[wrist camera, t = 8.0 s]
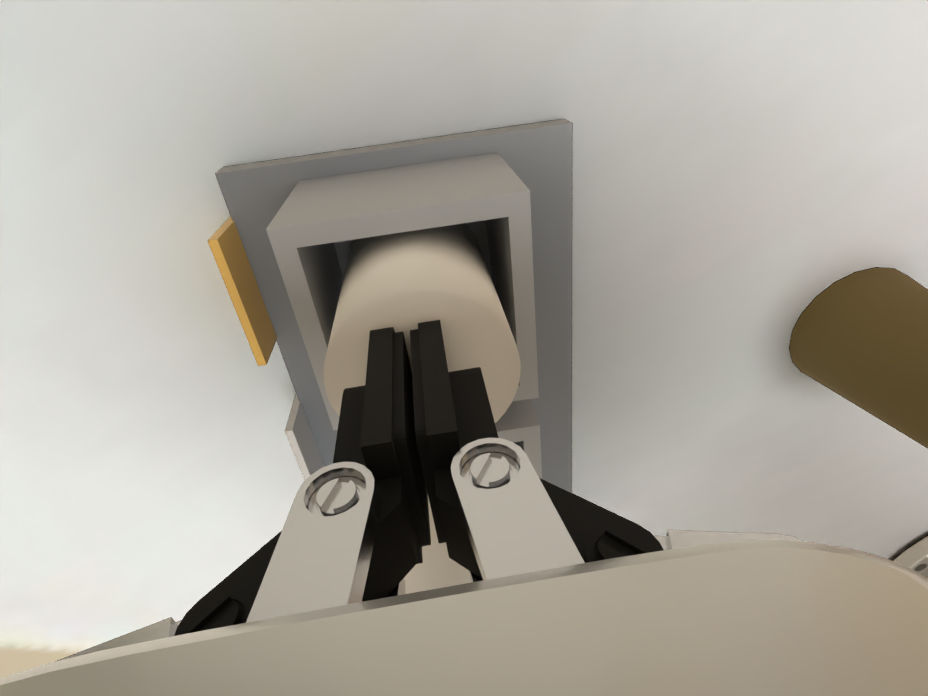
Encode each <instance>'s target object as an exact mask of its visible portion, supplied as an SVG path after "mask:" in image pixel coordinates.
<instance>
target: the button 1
mask: <svg viewBox="0 0 928 696" xmlns="http://www.w3.org/2000/svg"><path fill="white" fill-rule="evenodd" d="M434 320H440V322H441V329H442V335H443V341H444V348H445V354H446V360H447V366H448V372H451V371H458V370H464V369H470V368H476V367H480V368H481V371H482V375H483V379H484V383H485V387H486V391H487V395H488V398H489V402H490V406H491V410H492V414H493V418H494V422H495V423H496V422H497V421H498V420H499V419H500V418H501V417H502V416H503V414H504V413H505V412H506V410H507V409H508V408H509V406H510V405H511V403H512V401H513V399H514V397H515V395H516V392H517V388H518V385H519V380H520V371H521V363H520V357H519V352H518V349H517V345H516V342H515V340H514V337H513V335H512V332H511V329H510V327H509V324H508V321H507V319H506V316H505V313H504V311H503V308H502V305H501V303H500V300H499V298H498V295H497V292H496V290H495V287H494V284H493V282H492V279H491V276H490V274H489V271H488V268H487V266H486V263H485V261H484V258H483V255H482V253H481V250H480V247H479V245H478V242H477V240H476V238H475V236H474V234H473V233H472V231H471V230H470V228H469V227H468V226H467V224H466V223H462V224H456V225H449V226H442V227H435V228H429V229H422V230H415V231H408V232H401V233H395V234H388V235H381V236H374V237H367V238H361V239H354V240H353V242H352V245H351V249H350V253H349V257H348V261H347V266H346V270H345V274H344V279H343V283H342V287H341V292H340V296H339V301H338V305H337V309H336V314H335V318H334V322H333V327H332V331H331V336H330V340H329V344H328V349H327V353H326V357H325V362H324V372H323V375H324V385H325V390H326V394H327V396H328V399H329V401H330V404H331V406H332V407H333V409H334V410H335V412H336V414H337V415H338V416H340V409H341V402H342V395H343V391H344V389H345V388H352V387H358V386H364V385H365V383H366V370H367V358H368V346H369V334H370V331H371V330H376V329H383V328H389V327H393V328H394V331H395V333H396V332H402V331H403V334H404V338H405V343H406V347H407V352H408V357H409V362H410V367H411V371H412V364H411V344H410V330H415V329H418V323H421V322H428V321H434Z"/></svg>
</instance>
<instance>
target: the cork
mask: <svg viewBox="0 0 928 696" xmlns="http://www.w3.org/2000/svg"><path fill="white" fill-rule="evenodd" d="M789 350H790V354H791V358H792V362H793V363H794V364H795V365H796V367H797V368H798V369H799V370H800V371H801V372H803V373H804V374H806V375H807V376H809V377H811V378H812V379H814V380H816V381H817V382H819V383H821V384H822V385H824V386H826V387H827V388H829V389H831V390H832V391H834V392H836V393H837V394H839V395H841V396H842V397H844V398H845V399H847V400H849V401H850V402H852V403H854V404H855V405H857V406H859V407H860V408H862V409H864V410H865V411H867V412H869V413H870V414H872V415H874V416H875V417H877V418H879V419H880V420H882V421H883V422H885V423H887V424H888V425H890V426H892V427H893V428H895V429H897V430H898V431H900V432H902V433H903V434H905V435H907V436H908V437H910V438H912V439H913V440H915V441H916V442H918V443H920V444H921V445H923V446H925V447H926V448H928V289H926V288H925V287H923V286H922V285H921V284H919V283H918V282H916V281H915V280H913V279H912V278H910V277H909V276H907V275H905V274H904V273H902V272H900V271H898V270H896V269H892V268H878V267H876V268H872V269H867V270H863V271H859V272H855V273H853V274H851V275H849V276H847V277H845V278H843V279H841V280H839V281H837V282H835V283H833V284H832V285H831V286H830V287H828V288H827V289H826V290H824V291H823V292H822V293H821V294H819V295H818V296H817V297H815V299H814V300H813V301H812V302H811V303H810V305H809V306H808V307H807V308H806V309H805V310H804V312H803V313H802V314H801V315H800V317H799V319H798V321H797V323H796V325H795V327H794V329H793V331H792V335H791V340H790V346H789Z"/></svg>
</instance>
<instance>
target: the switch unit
mask: <svg viewBox="0 0 928 696" xmlns="http://www.w3.org/2000/svg"><path fill="white" fill-rule="evenodd" d="M572 130H573V123H572V122H570V121H568V120H566V119H559V120H552V121H545V122H538V123H531V124H524V125H517V126H510V127H502V128H495V129H488V130H481V131H474V132H467V133H460V134H453V135H446V136H439V137H432V138H425V139H418V140H411V141H403V142H396V143H389V144H382V145H375V146H368V147H361V148H354V149H347V150H340V151H333V152H326V153H319V154H312V155H304V156H297V157H290V158H283V159H276V160H269V161H262V162H255V163H248V164H241V165H234V166H227V167H223V168H222V169H220V170H219V171H218V172H216V173H215V175H216V178H217V180H218V183H219V186H220V188H221V191H222V194H223V197H224V199H225V202H226V205H227V207H228V210H229V213H230V215H231V216H230V217H229V218H228V219H227V221H226V222H225V223H224V224H223V225H222V226H221V227H220V228H219V229H218V230H217V231H216V232H215V233H214V235H213V236H212V237H211V238H210V239H209V240H208V243H209V246H210V248H211V250H212V253H213V255H214V258H215V260H216V263H217V265H218V268H219V270H220V273H221V275H222V278H223V280H224V283H225V285H226V288H227V290H228V292H229V295H230V297H231V300H232V302H233V305H234V307H235V310H236V312H237V315H238V317H239V320H240V322H241V325H242V327H243V329H244V332H245V334H246V337H247V339H248V342H249V344H250V347H251V349H252V352H253V354H254V357H255V359H256V362H257V364H258V366H261V365H267V362H268V360H269V357H270V355H271V352H272V350H273V347H274V345H275V342H276V340H277V343H278V345H279V348H280V351H281V354H282V356H283V359H284V362H285V364H286V367H287V370H288V373H289V375H290V378H291V381H292V383H293V386H294V389H295V392H296V394H295V398H294V401H293V405H292V408H291V412H290V415H289V419H288V422H287V426H286V429H285V433H286V436H287V438H288V440H289V443H290V445H291V448H292V450H293V453H294V455H295V458H296V460H297V463H298V465H299V468H300V470H301V473H302V475H303V477H304V480H306V479H307V478H308V477H309V476H310V475H311V474H313V473H315V472H316V471H318V470H319V469H321V468H323V467H325V466H328V465H330V464H333V458H334V451H335V444H336V437H337V430H338V423H339V416H338V415H337V414H336V412H335V410H334V409H333V407H332V406H331V404H330V401H329V399H328V396H327V394H326V390H325V385H324V375H323V372H324V362H325V357H326V353H327V349H328V344H329V340H330V336H331V331H332V327H333V322H334V318H335V314H336V309H337V305H338V301H339V296H340V292H341V287H342V283H343V279H344V274H345V270H346V266H347V261H348V257H349V253H350V249H351V245H352V242H353V240H354V239H361V238H367V237H374V236H381V235H388V234H395V233H401V232H408V231H415V230H422V229H429V228H435V227H442V226H449V225H456V224H462V223H466V224H467V226H468V227H469V228H470V230H471V231H472V233H473V234H474V236H475V238H476V240H477V242H478V245H479V247H480V250H481V253H482V255H483V258H484V261H485V263H486V266H487V268H488V271H489V274H490V276H491V279H492V282H493V284H494V287H495V290H496V292H497V295H498V298H499V300H500V303H501V305H502V308H503V311H504V313H505V316H506V319H507V321H508V324H509V327H510V329H511V332H512V335H513V337H514V340H515V342H516V345H517V349H518V352H519V357H520V363H521V371H520V380H519V385H518V388H517V392H516V395H515V397H514V399H513V401H512V403H511V405H510V406H509V408H508V409H507V410H506V412H505V413H504V414H503V416H502V417H501V418H500V419H499V420H498V421H497V422H496V423H495V426H496V430H497V434H498V437H499V438H502V439H505V440H509V441H512V442H513V443H515V444H517V445H518V446H520V447H521V448H522V450H523V451H524V452H525V453H526V455H527V456H528V458H529V460H530V462H531V464H532V466H533V468H534V469H535V471H536V473H537V475H538V477H539V478H541V479H543V480H545V481H547V482H549V483H551V484H553V485H556V486H558V487H560V488H562V489H564V490H566V491H568V492H570V493H572Z"/></svg>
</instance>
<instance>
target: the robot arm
mask: <svg viewBox="0 0 928 696" xmlns="http://www.w3.org/2000/svg"><path fill="white" fill-rule="evenodd" d="M410 344H411V364H412V371H411V367H410V362H409V357H408V352H407V347H406V343H405V338H404V334H403V331H402V332H396V333H395V331H394V328H393V327H389V328H383V329H376V330H371V331H370V334H369V346H368V358H367V370H366V383H365V385H364V386H358V387H352V388H345V389H344V391H343V395H342V402H341V409H340V416H339V423H338V430H337V437H336V444H335V451H334V458H333V464H330V465H328V466H325V467H323V468H321V469H319V470H318V471H316V472H315V473H313V474H311V475H310V476H309V477H308V478H307V479H306V480H305V481H304V482H303V483H302V485H301V487H300V489H299V490H298V492H297V494H296V497H295V499H294V502H293V504H292V507H291V509H290V512H289V514H288V517H287V520H286V522H285V525H284V527H283V530H282V531H281V532H280V533H279V534H277V535H276V536H275V537H274V538H273V539H271V540H270V541H269V542H268V543H267V544H265V545H264V546H263V547H262V548H261V549H260V550H258V551H257V552H256V553H255V554H254V555H252V556H251V557H250V558H249V559H248V560H247V561H245V562H244V563H243V564H242V565H241V566H239V567H238V568H237V569H236V570H235V571H234V572H232V573H231V574H230V575H229V576H228V577H226V578H225V579H224V580H223V581H222V582H221V583H219V584H218V585H217V586H216V587H215V588H213V589H212V590H211V591H210V592H209V593H208V594H206V595H205V596H204V597H203V598H202V599H200V600H199V601H198V602H197V603H196V604H195V605H194V606H193V607H192V608H191V609H190V610H189V611H188V612H187V613H186V615H185V616H184V618H183V619H182V620H181V621H178V622H175V621H174V620H173V619H172V617H170V618H167V619H165V620H162V621H160V622H157V623H154V624H152V625H149V626H146V627H144V628H141V629H139V630H136V631H133V632H131V633H128V634H126V635H123V636H120V637H118V638H115V639H112V640H110V641H107V642H105V643H102V644H99V645H97V646H94V647H91V648H89V649H86V650H84V651H81V652H78V653H76V654H73V655H70V656H68V657H65V658H63V659H60V660H57V661H55V662H52V663H48V664H45V665H42V666H38V667H35V668H32V669H28V670H25V671H22V672H19V673H15V674H12V675H9V676H6V677H4V678H1V679H0V696H928V536H927V537H925V538H924V539H922V540H920V541H919V542H917V543H916V544H914V545H913V546H911V547H910V548H908V549H907V550H905V551H904V552H903V553H902V554H900V555H899V556H898V557H897V558H896V559H894V560H893V561H892V560H889V559H886V558H882V557H879V556H876V555H873V554H870V553H866V552H862V551H858V550H854V549H850V548H844V547H838V546H832V545H826V544H820V543H813V542H805V541H802V540H800V539H798V538H796V537H793V536H788V535H782V534H773V533H744V532H714V531H685V530H668V531H667V536H653V535H652V534H651V533H650V532H649V531H647V530H646V529H644V528H643V527H641V526H639V525H638V524H636V523H634V522H632V521H629V520H627V519H625V518H623V517H621V516H619V515H617V514H615V513H613V512H610V511H608V510H606V509H604V508H602V507H600V506H598V505H596V504H594V503H591V502H589V501H587V500H585V499H583V498H581V497H579V496H577V495H575V494H572V493H570V492H568V491H566V490H564V489H562V488H560V487H558V486H556V485H553V484H551V483H549V482H547V481H545V480H543V479H541V478H539V477H538V475H537V473H536V471H535V469H534V468H533V466H532V464H531V462H530V460H529V458H528V456H527V455H526V453H525V452H524V451H523V450H522V448H521V447H520V446H518V445H517V444H515V443H513V442H512V441H509V440H505V439H502V438H499V437H498V434H497V430H496V426H495V422H494V418H493V414H492V410H491V406H490V402H489V398H488V395H487V391H486V387H485V383H484V379H483V375H482V371H481V368H480V367H476V368H470V369H464V370H458V371H451V372H448V366H447V360H446V354H445V348H444V341H443V335H442V329H441V322H440V320H434V321H428V322H421V323H418V329H415V330H410ZM428 498H429V502H430V507H431V511H432V516H433V520H434V524H435V529H436V533H437V538H438V542H439V544H440V543H445V542H446V545H447V550H448V555H449V558H450V559H452V560H454V561H455V562H457V563H458V564H460V565H461V566H463V567H464V568H466V569H467V570H469V574H470V580H471V583H466V584H460V585H454V586H449V587H443V588H437V589H432V590H426V591H420V592H414V593H409V594H405V580H404V577H405V576H406V575H407V574H408V573H409V572H410V571H411V569H412V568H413V567H414V566H415V565H416V564H419V563H423V557H422V546H428V545H431V535H430V521H429V507H428Z"/></svg>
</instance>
